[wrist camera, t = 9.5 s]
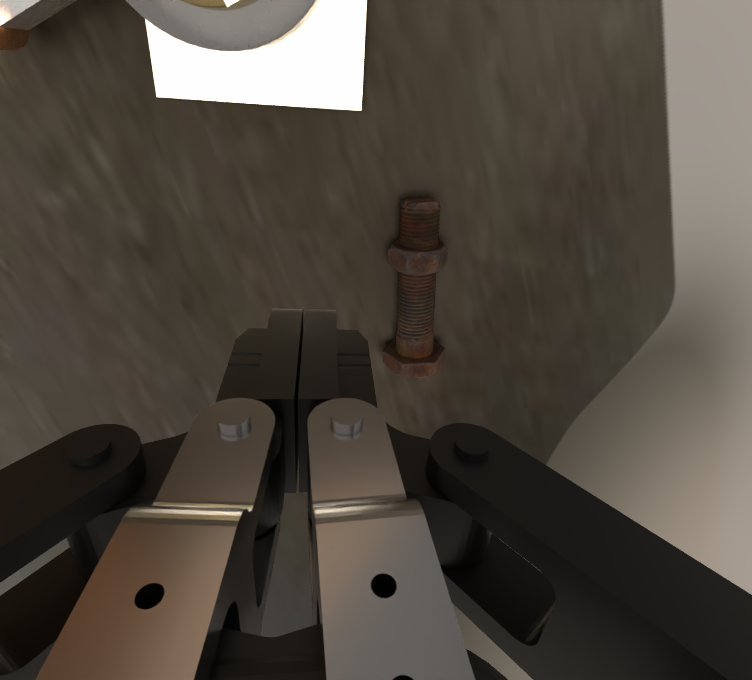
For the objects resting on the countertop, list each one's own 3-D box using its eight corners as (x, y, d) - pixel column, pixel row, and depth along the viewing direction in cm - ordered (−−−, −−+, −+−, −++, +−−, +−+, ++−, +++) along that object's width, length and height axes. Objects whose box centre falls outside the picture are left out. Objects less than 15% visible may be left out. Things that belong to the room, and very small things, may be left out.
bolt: (421, 190, 41) (415, 343, 48) (372, 197, 38) (373, 358, 45) (469, 202, 37) (455, 368, 44) (418, 211, 34) (412, 386, 41)
